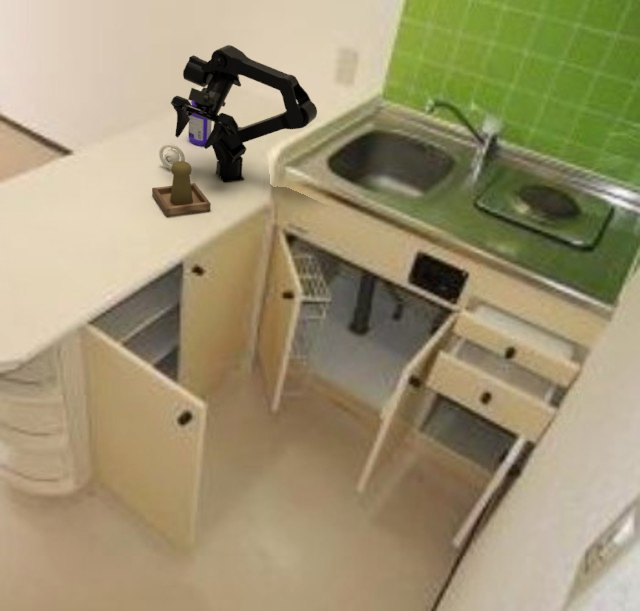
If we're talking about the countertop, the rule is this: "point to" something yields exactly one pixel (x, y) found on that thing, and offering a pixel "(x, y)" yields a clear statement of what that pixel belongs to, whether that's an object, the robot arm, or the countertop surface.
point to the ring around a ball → (170, 155)
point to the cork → (181, 184)
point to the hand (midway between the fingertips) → (190, 142)
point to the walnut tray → (170, 210)
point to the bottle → (199, 127)
